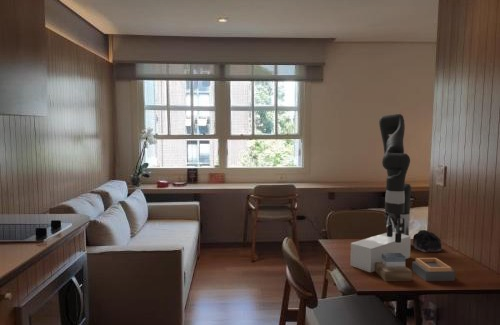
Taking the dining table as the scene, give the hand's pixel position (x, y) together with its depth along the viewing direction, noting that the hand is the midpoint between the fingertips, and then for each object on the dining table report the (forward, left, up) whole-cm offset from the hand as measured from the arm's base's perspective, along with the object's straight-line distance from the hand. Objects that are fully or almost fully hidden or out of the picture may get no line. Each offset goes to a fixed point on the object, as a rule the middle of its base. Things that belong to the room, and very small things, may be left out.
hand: (393, 239), depth 156 cm
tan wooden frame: (0, +17, -16) cm, 23 cm away
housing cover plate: (0, 0, -9) cm, 9 cm away
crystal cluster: (-36, +33, -16) cm, 51 cm away
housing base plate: (0, 0, -12) cm, 12 cm away
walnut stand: (0, 0, -16) cm, 16 cm away
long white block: (-18, +2, -16) cm, 24 cm away
